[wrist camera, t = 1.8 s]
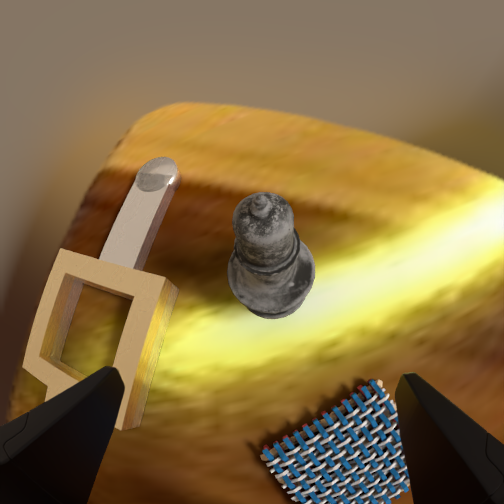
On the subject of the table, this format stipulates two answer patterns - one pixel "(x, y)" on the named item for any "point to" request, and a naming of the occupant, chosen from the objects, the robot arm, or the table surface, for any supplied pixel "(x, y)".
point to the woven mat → (345, 453)
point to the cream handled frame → (133, 255)
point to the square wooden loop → (134, 333)
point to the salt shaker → (269, 257)
